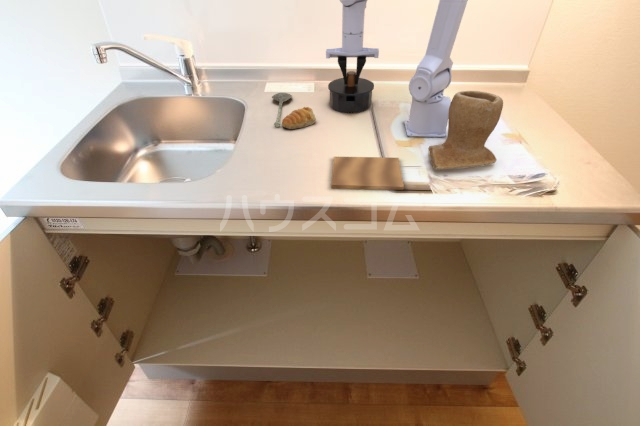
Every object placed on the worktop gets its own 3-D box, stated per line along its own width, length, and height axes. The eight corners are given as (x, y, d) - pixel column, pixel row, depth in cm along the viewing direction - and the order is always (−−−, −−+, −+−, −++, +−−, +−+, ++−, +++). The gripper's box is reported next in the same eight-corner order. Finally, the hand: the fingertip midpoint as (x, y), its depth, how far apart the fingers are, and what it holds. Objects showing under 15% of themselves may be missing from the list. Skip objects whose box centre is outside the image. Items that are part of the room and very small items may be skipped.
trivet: (398, 161, 74) (398, 157, 73) (403, 190, 66) (404, 186, 65) (333, 160, 75) (333, 156, 75) (331, 188, 67) (331, 184, 66)
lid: (372, 80, 99) (374, 64, 96) (374, 98, 89) (376, 81, 86) (329, 80, 100) (329, 65, 97) (326, 98, 90) (326, 81, 87)
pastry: (290, 133, 85) (289, 120, 83) (277, 125, 89) (275, 112, 87) (318, 122, 90) (317, 109, 87) (303, 115, 94) (302, 102, 91)
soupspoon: (293, 98, 105) (274, 99, 105) (292, 87, 103) (272, 89, 103) (288, 126, 88) (265, 128, 88) (287, 115, 86) (263, 117, 86)
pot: (369, 93, 104) (371, 76, 101) (371, 117, 91) (373, 99, 87) (331, 93, 105) (331, 76, 102) (328, 117, 92) (327, 99, 88)
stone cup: (475, 143, 79) (495, 81, 69) (500, 170, 70) (528, 104, 60) (415, 148, 78) (428, 87, 68) (434, 176, 69) (451, 110, 59)
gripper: (379, 27, 87) (375, 78, 96) (326, 28, 88) (327, 78, 97) (380, 34, 82) (376, 87, 91) (324, 35, 83) (325, 87, 92)
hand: (351, 83), depth 94 cm, fingers closed on lid, 2 cm apart
